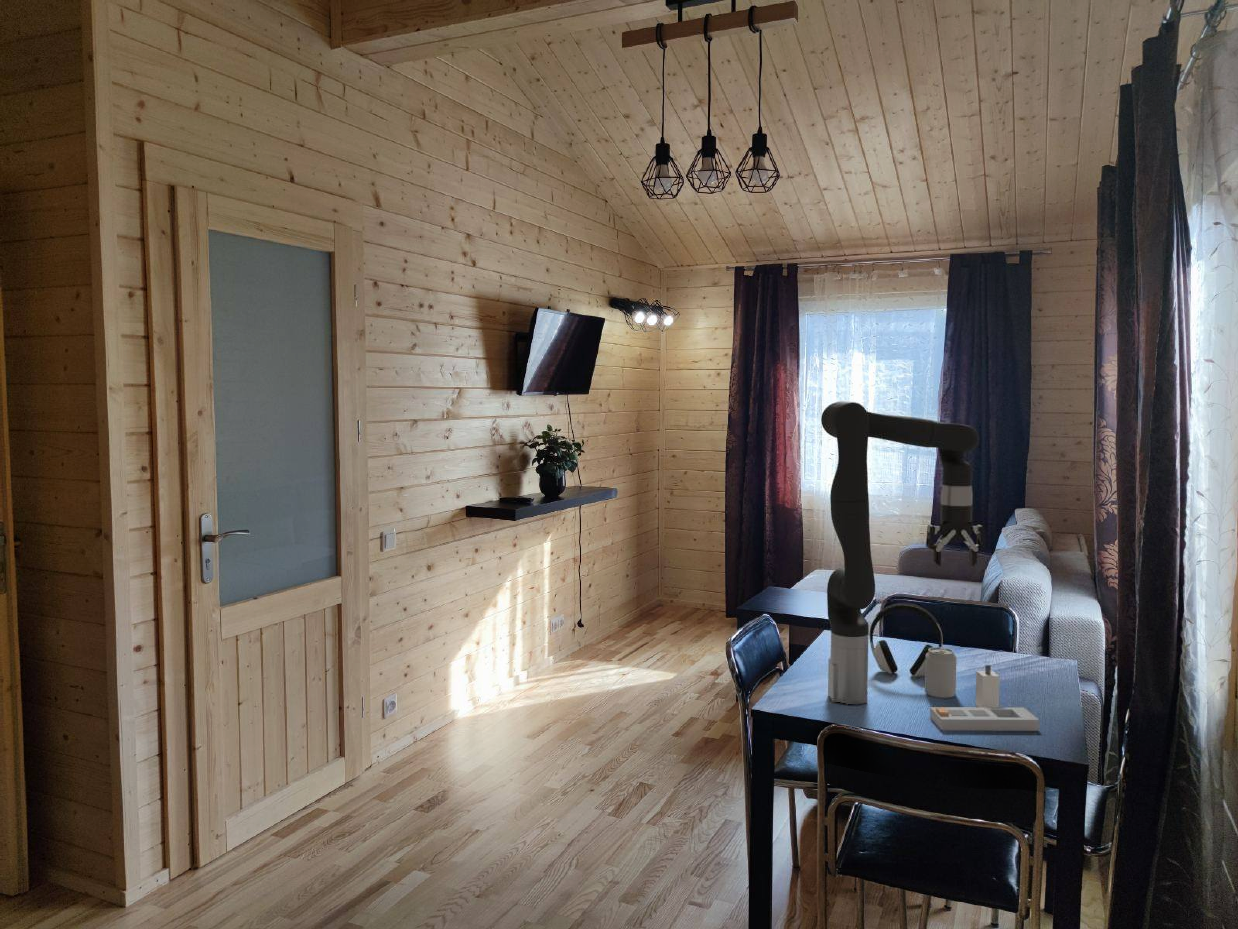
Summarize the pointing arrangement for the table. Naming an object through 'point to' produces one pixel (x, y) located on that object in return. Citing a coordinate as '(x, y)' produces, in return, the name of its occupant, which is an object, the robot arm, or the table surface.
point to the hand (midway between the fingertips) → (954, 565)
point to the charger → (987, 688)
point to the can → (940, 672)
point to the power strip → (984, 718)
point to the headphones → (882, 648)
